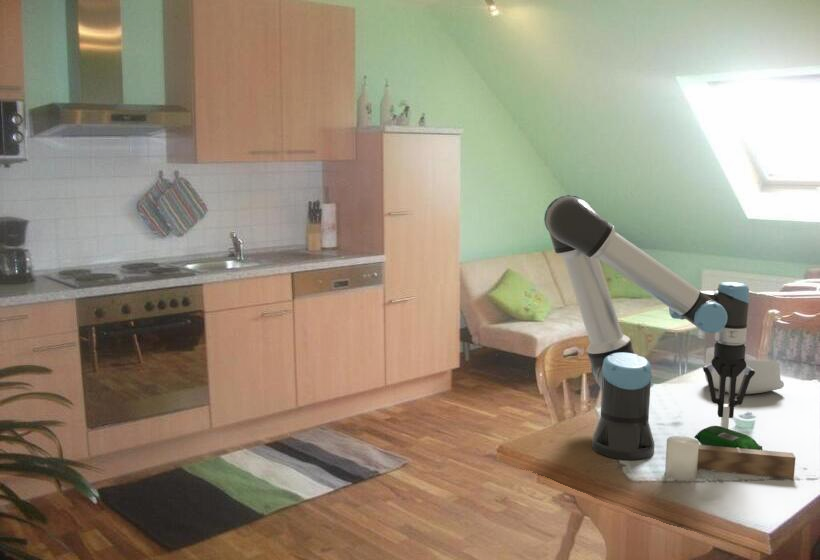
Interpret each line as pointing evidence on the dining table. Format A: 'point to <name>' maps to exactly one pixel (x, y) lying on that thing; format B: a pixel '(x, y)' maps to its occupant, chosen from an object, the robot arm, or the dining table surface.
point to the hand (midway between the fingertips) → (724, 428)
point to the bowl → (760, 381)
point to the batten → (746, 461)
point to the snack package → (726, 438)
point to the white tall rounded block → (681, 457)
